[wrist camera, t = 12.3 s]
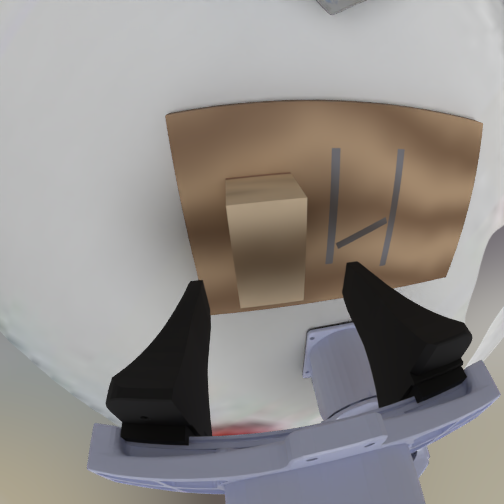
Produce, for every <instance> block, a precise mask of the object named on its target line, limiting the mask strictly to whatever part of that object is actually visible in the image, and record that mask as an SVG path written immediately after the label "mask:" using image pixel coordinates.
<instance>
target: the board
mask: <svg viewBox="0 0 504 504" xmlns="http://www.w3.org/2000/svg"><path fill="white" fill-rule="evenodd" d="M165 117H166V124H167V130H168V136H169V142H170V148H171V153H172V159H173V164H174V170H175V175H176V180H177V185H178V190H179V195H180V200H181V205H182V210H183V214H184V219H185V223H186V228H187V232H188V237H189V241H190V245H191V250H192V254H193V258H194V262H195V266H196V270H197V274H198V278H199V280H203V282H204V287H205V291H206V295H207V299H208V303H209V307H210V315H217V314H227V313H236V312H245V311H254V310H262V309H270V308H278V307H285V306H292V305H299V304H306V303H313V302H319V301H326V300H332V299H338V298H343V295H342V289H343V283H344V277H345V270H346V263H348V262H355V261H358V262H359V263H361V264H362V265H363V266H364V267H366V268H367V269H368V270H369V271H371V272H372V273H373V274H374V275H376V276H377V277H378V278H379V279H381V280H382V281H383V282H385V283H386V284H387V285H389V286H390V287H391V288H397V287H402V286H407V285H412V284H417V283H421V282H426V281H430V280H434V279H439V278H443V277H446V275H447V273H448V270H449V267H450V265H451V262H452V259H453V256H454V253H455V251H456V248H457V245H458V242H459V238H460V235H461V232H462V229H463V225H464V222H465V218H466V215H467V211H468V207H469V203H470V199H471V195H472V190H473V186H474V181H475V176H476V171H477V165H478V159H479V152H480V145H481V138H482V128H483V123H481V122H478V121H475V120H472V119H468V118H464V117H460V116H455V115H451V114H446V113H441V112H436V111H431V110H425V109H419V108H413V107H406V106H398V105H390V104H381V103H370V102H357V101H338V100H282V101H263V102H249V103H238V104H228V105H220V106H212V107H205V108H198V109H192V110H186V111H180V112H174V113H169V114H167V115H166V116H165ZM286 172H291V174H292V175H293V177H294V178H295V180H296V181H297V183H298V184H299V186H300V187H301V189H302V190H303V192H304V193H305V195H306V197H307V235H306V263H305V283H304V300H302V301H295V302H288V303H280V304H273V305H265V306H257V307H248V308H241V307H240V301H239V294H238V288H237V281H236V274H235V267H234V261H233V254H232V247H231V240H230V233H229V225H228V218H227V211H226V180H225V178H234V177H243V176H253V175H263V174H274V173H286Z"/></svg>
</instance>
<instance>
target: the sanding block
mask: <svg viewBox="0 0 504 504" xmlns="http://www.w3.org/2000/svg"><path fill="white" fill-rule="evenodd" d="M225 180H226V211H227V218H228V225H229V233H230V240H231V247H232V254H233V261H234V267H235V274H236V281H237V288H238V294H239V301H240V307H241V308H248V307H257V306H265V305H273V304H280V303H288V302H295V301H302V300H304V283H305V263H306V235H307V197H306V195H305V193H304V192H303V190H302V189H301V187H300V186H299V184H298V183H297V181H296V180H295V178H294V177H293V175H292V174H291V172H286V173H274V174H263V175H253V176H243V177H234V178H225Z"/></svg>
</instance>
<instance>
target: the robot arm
mask: <svg viewBox="0 0 504 504" xmlns="http://www.w3.org/2000/svg"><path fill="white" fill-rule="evenodd" d="M342 295H343V298H344V301H345V304H346V307H347V310H348V312H349V314H350V317H351V319H352V321H353V322H352V323H347V324H342V325H336V326H331V327H325V328H320V329H314V330H310V331H309V332H308V333H307V340H306V349H305V358H304V366H303V374H302V375H303V378H309V377H311V379H312V383H313V387H314V391H315V395H316V399H317V403H318V407H319V411H320V415H321V417H322V419H323V420H324V421H322V422H321V423H320V424H315V425H310V426H305V427H299V428H293V429H287V430H280V431H272V432H264V433H255V434H244V435H230V436H212V430H211V420H210V409H209V394H208V355H209V343H210V331H211V316H210V307H209V303H208V299H207V295H206V291H205V287H204V282H203V280H198V281H191V282H190V283H189V284H188V287H187V289H186V291H185V293H184V295H183V296H182V298H181V300H180V302H179V304H178V305H177V307H176V309H175V311H174V312H173V314H172V315H171V317H170V319H169V320H168V322H167V323H166V325H165V326H164V327H163V329H162V330H161V332H160V333H159V334H158V335H157V337H156V338H155V339H154V340H153V341H152V343H151V344H150V345H149V346H148V347H147V348H146V349H145V350H144V351H143V352H142V354H140V355H139V356H138V357H137V358H136V359H135V360H134V361H133V362H132V363H131V364H129V365H128V366H127V367H126V368H124V369H123V370H122V371H120V372H119V373H118V374H116V375H115V376H114V377H112V380H111V383H110V386H109V390H108V395H107V399H106V406H107V408H108V409H109V410H110V412H112V413H113V414H114V415H115V416H116V417H117V418H118V419H119V420H121V421H122V428H120V427H117V426H112V425H106V424H99V423H95V424H94V427H93V432H92V438H91V444H90V450H89V457H88V464H87V469H88V470H89V471H91V472H93V473H95V474H97V475H100V476H103V477H105V478H107V479H109V480H112V481H114V482H119V483H123V484H129V485H134V486H140V487H146V488H153V489H160V490H168V491H177V492H187V493H202V494H225V501H226V504H425V500H424V496H423V493H422V489H421V486H420V482H419V479H418V478H419V477H420V476H421V474H422V473H423V472H424V470H425V469H426V467H427V466H428V464H429V461H428V459H429V458H430V455H429V452H428V448H427V445H429V444H431V443H433V442H435V441H437V440H438V439H441V438H442V437H444V436H446V435H448V434H450V433H451V432H453V431H455V430H456V429H458V428H460V427H462V426H463V425H465V424H467V423H468V422H470V421H471V420H473V419H475V418H476V417H477V416H479V415H480V414H481V413H482V412H483V411H484V410H486V409H487V408H488V407H489V406H490V405H491V404H492V403H493V402H494V401H495V400H497V399H498V398H499V397H500V395H501V394H500V392H499V390H498V388H497V386H496V385H495V383H494V381H493V379H492V377H491V375H490V373H489V371H488V370H487V368H486V366H485V364H484V363H483V361H482V360H480V361H478V362H476V363H474V364H472V365H470V366H468V367H467V368H466V369H464V370H463V368H462V367H461V366H462V365H463V361H462V359H461V357H462V355H463V354H464V352H465V351H466V350H467V348H468V347H469V345H470V343H471V341H472V334H471V333H470V331H469V330H468V328H467V327H466V325H465V324H464V323H463V322H459V321H456V320H453V319H449V318H447V317H444V316H441V315H439V314H436V313H434V312H432V311H430V310H428V309H426V308H424V307H422V306H420V305H418V304H416V303H414V302H413V301H411V300H409V299H407V298H406V297H404V296H403V295H401V294H400V293H398V292H397V291H395V290H394V289H393V288H391V287H390V286H389V285H387V284H386V283H385V282H383V281H382V280H381V279H379V278H378V277H377V276H376V275H374V274H373V273H372V272H371V271H369V270H368V269H367V268H366V267H364V266H363V265H362V264H361V263H359V262H358V261H355V262H348V263H346V270H345V277H344V283H343V289H342Z"/></svg>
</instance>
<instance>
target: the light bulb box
mask: <svg viewBox="0 0 504 504" xmlns="http://www.w3.org/2000/svg"><path fill="white" fill-rule="evenodd" d="M317 1H318V2H319V3H320V5H321V6H322V7H323V8H324V9H325V10H326V11H327V12H328V13H329V14H331V15H334V14H337V13H339V12H341V11H343V10H345V9H347V8H349V7H351V6H354V5H356V4H358V3H361V2H363V1H366V0H317Z"/></svg>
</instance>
